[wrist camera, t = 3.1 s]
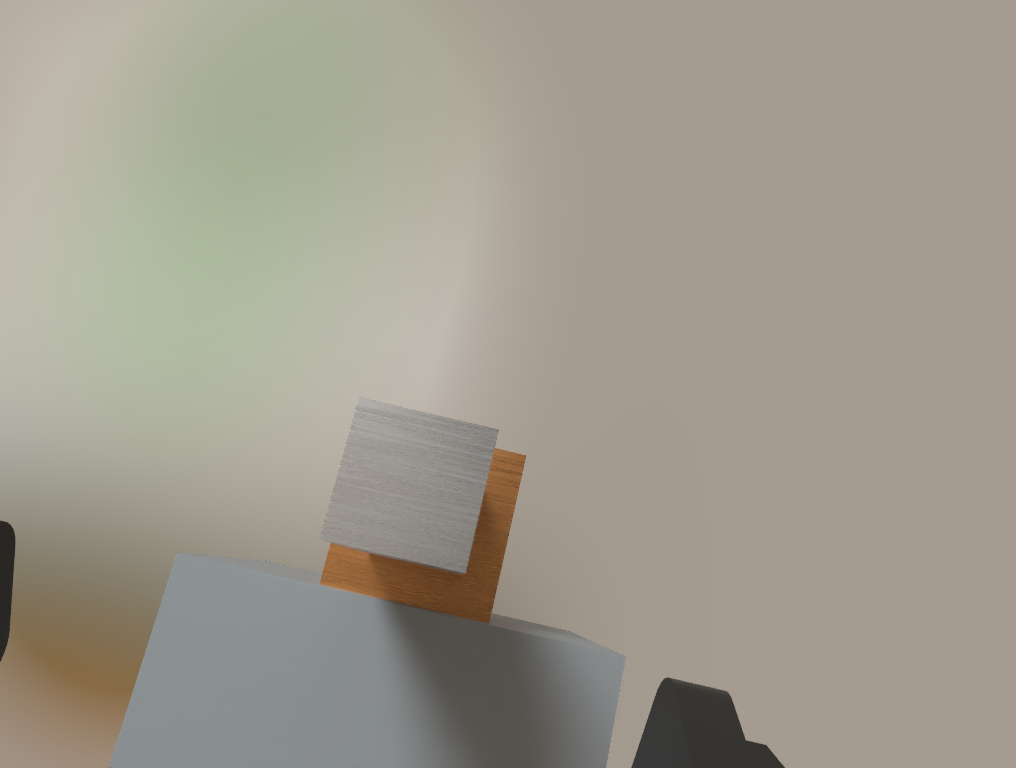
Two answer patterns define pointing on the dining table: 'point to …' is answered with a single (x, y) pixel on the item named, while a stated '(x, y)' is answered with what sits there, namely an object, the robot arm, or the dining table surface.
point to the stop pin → (421, 511)
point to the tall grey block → (355, 681)
